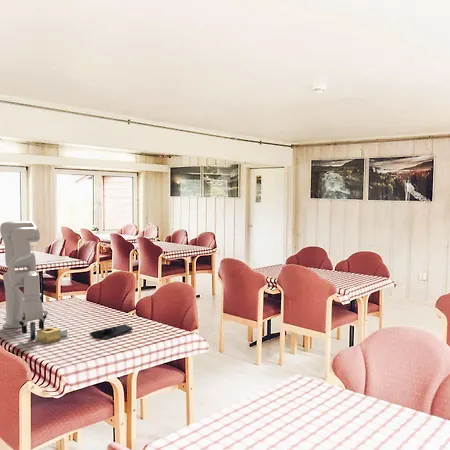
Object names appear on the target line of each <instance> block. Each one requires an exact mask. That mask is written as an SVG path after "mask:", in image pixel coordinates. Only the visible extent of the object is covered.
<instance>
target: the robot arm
mask: <svg viewBox="0 0 450 450" xmlns="http://www.w3.org/2000/svg"><path fill="white" fill-rule="evenodd" d="M0 235H1V238H2V240H3V244H4V261H5V266H6V268H7V272H5V273H4V274H3V275H2V276H3V277H2V279H3V284H4V293H5V317H4V319H3V320H4V321H5V323H3V328H4V329H5V328H6V329H17V328H21V334H24V335H26V334H28V326H27V325H28V323H29V322H34V321H36V320H38V330H41V329H45V320H46V319H47V317H48V313H49V312H48V311H46V310H44V307H43V302H42V299H41V297H42V296H43V295H42V293H41V288H40V286H41V285H40V283H41V282H40V274H38V273H37V263H36V262H37V261H36V255H35V252H34V251H32V248H31V244H30V243H37V242H39V241H40V238H41V234H40V230H39V228H38V227H37V225H36V224H35V222H33V221H32V220H21V221H20V220H16V221H15V220H14V221H5V222H2V223H1V224H0ZM23 268H26V269H23ZM16 269H17V270H16ZM22 287H23V291H22V290H21V289H20V288H22Z"/></svg>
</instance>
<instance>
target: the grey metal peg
mask: <svg viewBox="0 0 450 450" xmlns="http://www.w3.org/2000/svg"><path fill="white" fill-rule="evenodd" d="M29 329H30V330H29V332H30V333H29V334H30V336H29V337H30V338H31V339H34V338H36V337H35V335H36V322H35V321H30V322H29ZM31 339H30V340H31Z"/></svg>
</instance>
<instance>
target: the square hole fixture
mask: <svg viewBox="0 0 450 450" xmlns="http://www.w3.org/2000/svg"><path fill="white" fill-rule="evenodd" d="M35 337H36V338H34V339H31V338H30V336H29V337H26V339H27V340H31V341H34V342H39V343H42V344H45V345H51V344H53V343H58V342H60V341H64V340H67V339H70V338H72V337H71V336H68V329H66V328H61V329H60V328H57V327H52V326H49V327H46V328H45V327H44V329H37V330H36V334H35Z"/></svg>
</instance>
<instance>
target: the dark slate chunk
mask: <svg viewBox="0 0 450 450" xmlns="http://www.w3.org/2000/svg"><path fill="white" fill-rule="evenodd" d="M132 330H133V327H132V326H130V325H128V324H120V325H116V326H112V327H107V328H102V329H99V330H98V329H97V330H95V331H92V332H90V333H89V337H93V338H94V339H97V340H103V341H104V340H110V339H113V338H115V337H119V336H121V335H124V334H127V333H129V332H130V331H132Z"/></svg>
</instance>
